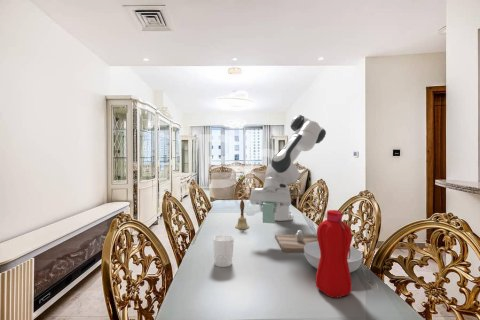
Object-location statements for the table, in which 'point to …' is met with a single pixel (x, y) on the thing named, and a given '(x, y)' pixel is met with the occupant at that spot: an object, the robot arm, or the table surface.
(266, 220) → the sleeve
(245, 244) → the table surface
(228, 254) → the white cup
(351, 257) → the serving bowl
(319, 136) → the robot arm
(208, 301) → the table surface
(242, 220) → the hand bell
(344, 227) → the water bottle
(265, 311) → the table surface
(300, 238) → the post
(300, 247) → the board
